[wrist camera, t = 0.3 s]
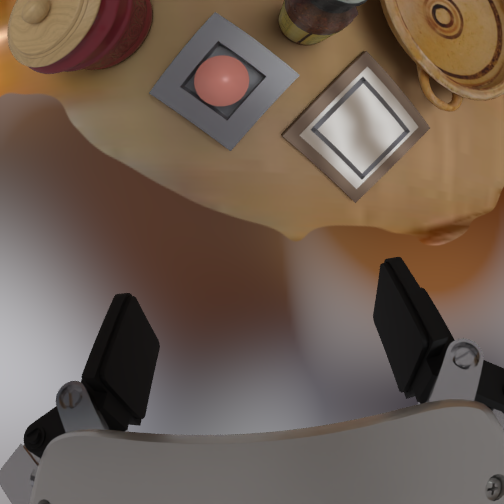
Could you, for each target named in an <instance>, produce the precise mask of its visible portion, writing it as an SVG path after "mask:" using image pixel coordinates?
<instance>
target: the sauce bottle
mask: <svg viewBox="0 0 504 504" xmlns="http://www.w3.org/2000/svg"><path fill="white" fill-rule="evenodd" d="M366 1H367V0H284V3H283V6H282V9H281V11H280V14H279V25H280V28H281V31H282V33H283V34H284V35H285V36H286V37H287V38H289V39H290V40H292V41H294V42H295V43H297V44H302V45H309V44H316V43H319V42H321V41H323V40H325V39H326V38H328V37H330V36H332V35H334V34H336V33H338V32H339V31H341V30H343V29H344V28H345V27H346V26H348V25H349V24H350V23H351V22H352V21H353V19H354V18H355V17H356V16H357V15H358V11H357V9H356V6H359V5H361V4H363V3H365V2H366Z"/></svg>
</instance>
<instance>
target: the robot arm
mask: <svg viewBox="0 0 504 504" xmlns="http://www.w3.org/2000/svg"><path fill="white" fill-rule="evenodd" d="M373 318H374V323H375V326H376V328H377V331H378V333H379V336H380V338H381V341H382V344H383V346H384V349H385V351H386V354H387V357H388V360H389V363H390V365H391V368H392V371H393V374H394V377H395V379H396V382H397V385H398V388H399V391H401V392H404V393H405V396H406V399H407V398H410V397H414V396H416V399H417V401H418V402H419V403H418V405H414V406H410V407H406V408H402V409H398V410H395V411H391V412H386V413H382V414H378V415H374V416H369V417H364V418H360V419H355V420H350V421H345V422H340V423H334V424H329V425H323V426H316V427H310V428H303V429H294V430H287V431H277V432H266V433H252V434H235V435H168V434H151V433H136V432H129V431H128V430H127V429H128V424H130V425H140V423H141V419H143V418H144V417H145V414H146V409H147V404H148V399H149V394H150V389H151V384H152V380H153V375H154V370H155V366H156V361H157V357H158V352H159V348H160V345H159V341H158V339H157V337H156V335H155V333H154V331H153V329H152V328H151V326H150V324H149V322H148V320H147V318H146V316H145V315H144V313H143V311H142V309H141V307H140V305H139V303H138V301H137V299H136V297H134V296H132V295H131V294H130V293H124V294H117V295H115V296H114V298H113V301H112V303H111V305H110V308H109V310H108V312H107V314H106V316H105V319H104V321H103V323H102V326H101V328H100V331H99V333H98V336H97V338H96V340H95V343H94V345H93V348H92V351H91V353H90V355H89V358H88V361H87V363H86V366H85V369H84V371H83V374H82V381H81V382H79V381H70V382H68V383H66V384H65V385H64V386H62V387H61V389H60V390H59V391H58V393H57V396H56V405H57V406H56V407H55V408H53V409H52V410H50V411H49V412H48V413H46V414H45V415H44V416H42V417H41V418H39V419H38V420H36V421H35V422H34V423H32V424H31V425H30V426H29V427H28V428H27V430H26V432H25V434H24V446H23V445H22V444H20V445H19V447H18V448H17V449H16V450H15V452H14V453H13V454H12V456H11V457H10V458H9V460H8V461H7V462H6V463H5V464H4V466H3V467H2V468H1V470H0V485H1V487H2V489H3V490H4V492H5V494H6V495H7V497H8V498H9V500H10V501H11V503H12V504H504V368H501V367H499V366H497V365H494V364H492V363H489V362H487V361H485V360H483V353H482V350H481V348H480V347H479V346H478V345H477V344H476V343H475V342H473V341H471V340H469V339H464V338H463V339H457V340H454V338H453V337H452V335H451V333H450V331H449V329H448V328H447V326H446V324H445V322H444V320H443V319H442V317H441V315H440V313H439V312H438V310H437V308H436V307H435V305H434V304H433V301H432V300H431V298H430V297H429V295H428V293H427V292H426V291H425V289H424V288H420V287H419V285H418V283H417V282H416V280H415V278H414V277H413V275H412V274H411V273H410V271H409V269H408V267H407V266H406V264H405V263H404V261H403V260H402V258H401V257H395V258H389V259H386V260H385V262H384V263H382V264H381V265H380V273H379V280H378V287H377V294H376V301H375V307H374V314H373Z"/></svg>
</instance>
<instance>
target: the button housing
mask: <svg viewBox="0 0 504 504" xmlns="http://www.w3.org/2000/svg"><path fill="white" fill-rule="evenodd" d="M220 55H225V56H230V57H233V58H236V59H237V60H239V61H240V62H241V63H242V64H243V65H244V66H245V68H246V69H247V71H248V74H249V86H248V89H247V91H246V93H245V95H244V96H243V97H242V98H241V99H240V100H239V101H237V102H236V103H234V104H231V105H228V106H214V105H211V104H208V103H206V102H205V101H204V100H202V99H201V98H200V97H199V95H198V94H197V92H196V89H195V85H194V78H195V74H196V71H197V69H198V68H199V66H200V65H201V64H202V63H203V62H204V61H206V60H207V59H209V58H211V57H214V56H220ZM298 76H299V74H298V73H297V72H295V71H294V70H293V69H292V68H291V67H289V66H288V65H287V64H286V63H285V62H283V61H282V60H281V59H280V58H278V57H277V56H276V55H275V54H273V53H272V52H271V51H270V50H268V49H267V48H266V47H264V46H263V45H262V44H260V43H259V42H258V41H256V40H255V39H254V38H252V37H251V36H250V35H248V34H247V33H245V32H244V31H243V30H241V29H240V28H238V27H237V26H235V25H234V24H232V23H231V22H229V21H228V20H226V19H225V18H223V17H222V16H220V15H219V14H217V13H216V12H215V13H214V14H213V15H212V16H211V17H210V18H209V19H208V20H207V21H206V22H205V24H204V25H203V26H202V27H201V28H200V29H199V30H198V31H197V32H196V34H195V35H194V36H193V37H192V38H191V39H190V41H189V42H188V43H187V44H186V45H185V47H184V48H183V49H182V50H181V51H180V53H179V54H178V55H177V56H176V58H175V59H174V60H173V61H172V63H171V64H170V65H169V67H168V68H167V69H166V71H165V72H164V73H163V75H162V76H161V77H160V79H159V80H158V81H157V83H156V84H155V85H154V87H153V88H152V90H151V91H150V92H149V93H150V94H151V95H153V96H154V97H156V98H157V99H159V100H160V101H161V102H163V103H164V104H166V105H167V106H169V107H170V108H172V109H173V110H175V111H176V112H177V113H179V114H180V115H182V116H183V117H185V118H186V119H187V120H189V121H190V122H192V123H193V124H194V125H196V126H197V127H199V128H200V129H201V130H203V131H204V132H205V133H207V134H208V135H210V136H211V137H212V138H214V139H215V140H216V141H218V142H219V143H220V144H222V145H223V146H224V147H226V148H227V149H228V150H230V151H231V150H232V149H233V148H234V147H235V146H236V144H237V143H238V142H239V141H240V140H241V139H242V137H243V136H244V135H245V134H246V133H247V132H248V131H249V129H250V128H251V127H252V126H253V125H254V124H255V123H256V122H257V120H258V119H259V118H260V117H261V116H262V115H263V114H264V113H265V112H266V110H267V109H268V108H269V107H270V106H271V105H272V104H273V103H274V102H275V101H276V100H277V98H278V97H279V96H280V95H281V94H282V93H283V92H284V91H285V90H286V89H287V88H288V87H289V86H290V85H291V84H292V83H293V82H294V81H295V80H296V79H297V77H298Z"/></svg>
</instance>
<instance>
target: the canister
mask: <svg viewBox="0 0 504 504" xmlns="http://www.w3.org/2000/svg"><path fill="white" fill-rule="evenodd" d="M152 19H153V10H152V5H151V2H150V0H17V1H16V3H15V5H14V7H13V10H12V13H11V16H10V19H9V24H8V44H9V47H10V50H11V52H12V54H13V56H14V57H15V58H16V60H17V61H19V62H20V63H21V64H23V65H26V66H28V67H29V68H31V69H32V70H34V71H36V72H39V73H44V74H54V73H59V72H63V71H64V72H69V71H76V70H80V69H88V70H96V69H104V68H108V67H111V66H113V65H116V64H118V63H120V62H122V61H124V60H125V59H127V58H128V57H130V56H131V55H132V54H133V53H134V52H135V51H136V50H137V49H138V48H139V47H140V46H141V45H142V43H143V42H144V40H145V39H146V37H147V35H148V33H149V31H150V28H151V24H152Z"/></svg>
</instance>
